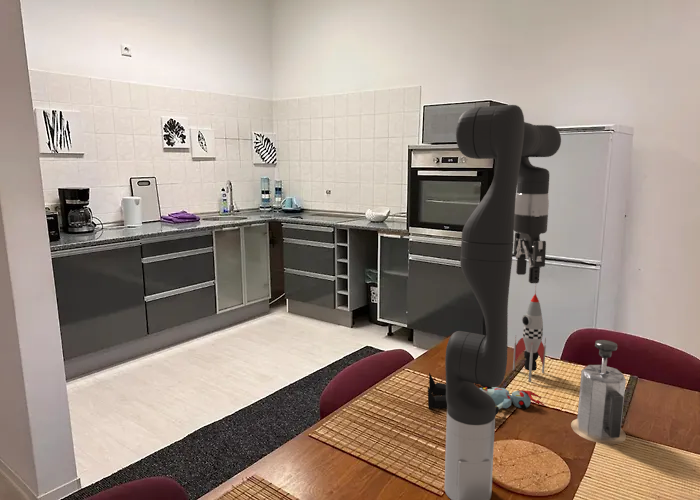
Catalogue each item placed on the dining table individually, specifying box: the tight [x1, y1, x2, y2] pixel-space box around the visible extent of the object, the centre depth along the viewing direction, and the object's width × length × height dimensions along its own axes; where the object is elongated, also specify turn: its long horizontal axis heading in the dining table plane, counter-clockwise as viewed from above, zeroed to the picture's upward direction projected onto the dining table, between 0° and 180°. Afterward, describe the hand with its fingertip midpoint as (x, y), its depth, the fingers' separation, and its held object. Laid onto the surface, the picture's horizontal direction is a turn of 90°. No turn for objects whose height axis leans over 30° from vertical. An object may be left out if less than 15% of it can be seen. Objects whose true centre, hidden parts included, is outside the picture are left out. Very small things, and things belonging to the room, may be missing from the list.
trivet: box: [570, 418, 627, 445], centre depth 120 cm, size 12×12×1 cm
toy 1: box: [427, 372, 545, 417], centre depth 134 cm, size 26×8×30 cm
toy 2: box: [512, 286, 547, 382], centre depth 149 cm, size 9×8×30 cm
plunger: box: [594, 339, 618, 374], centre depth 117 cm, size 6×6×18 cm
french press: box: [576, 364, 627, 441], centre depth 117 cm, size 12×10×15 cm
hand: (527, 278), depth 120 cm, fingers open, 8 cm apart
